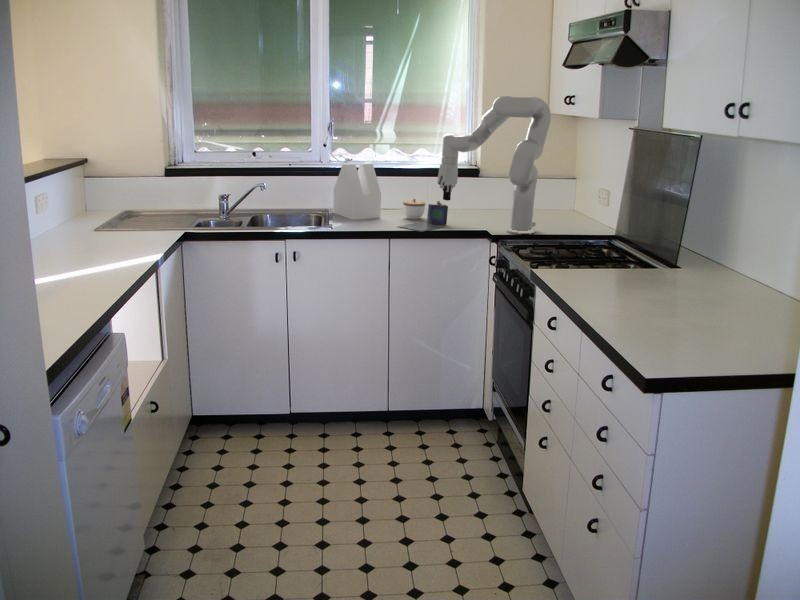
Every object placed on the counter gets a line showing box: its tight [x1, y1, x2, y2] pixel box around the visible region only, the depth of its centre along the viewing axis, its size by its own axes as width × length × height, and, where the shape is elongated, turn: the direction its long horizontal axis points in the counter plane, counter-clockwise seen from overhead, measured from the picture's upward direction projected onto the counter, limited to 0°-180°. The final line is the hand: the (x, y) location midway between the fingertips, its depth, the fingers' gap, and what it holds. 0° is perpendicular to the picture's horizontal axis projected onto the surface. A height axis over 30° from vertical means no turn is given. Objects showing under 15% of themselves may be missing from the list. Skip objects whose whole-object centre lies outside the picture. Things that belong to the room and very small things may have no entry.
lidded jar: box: [402, 198, 426, 220], centre depth 394 cm, size 11×11×9 cm
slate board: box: [397, 221, 445, 233], centre depth 374 cm, size 17×14×1 cm
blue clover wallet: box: [426, 200, 449, 226], centre depth 381 cm, size 9×3×11 cm, turn 84°
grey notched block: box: [332, 162, 382, 221], centre depth 393 cm, size 19×15×25 cm
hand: (446, 199), depth 385 cm, fingers closed
